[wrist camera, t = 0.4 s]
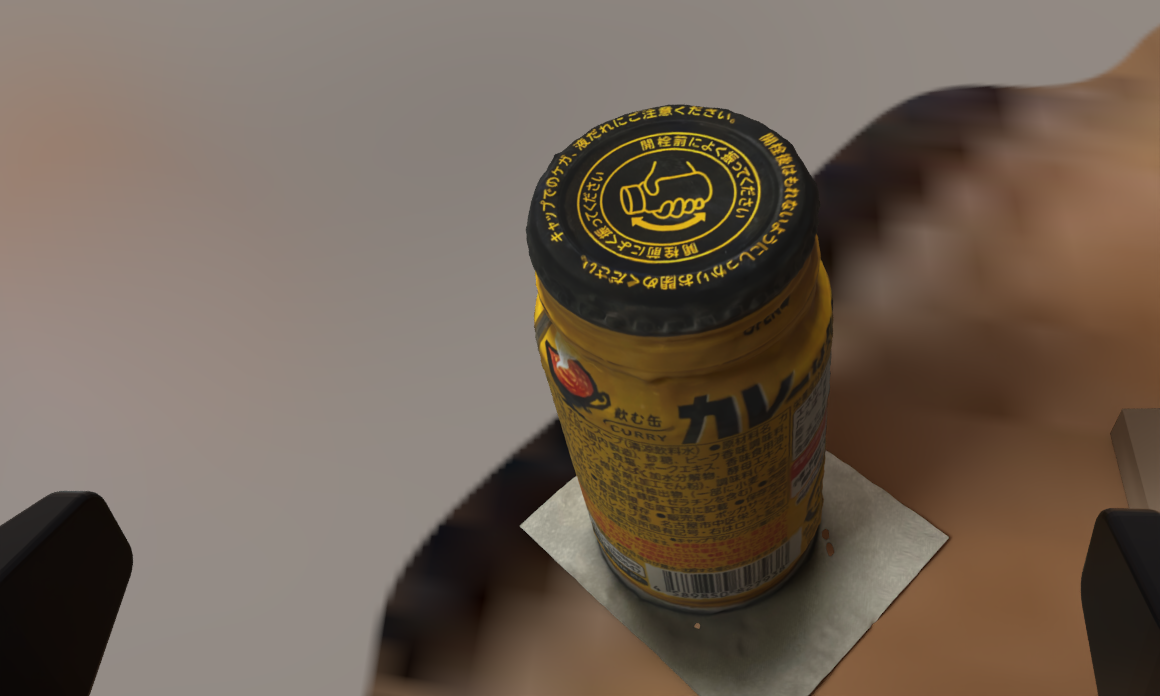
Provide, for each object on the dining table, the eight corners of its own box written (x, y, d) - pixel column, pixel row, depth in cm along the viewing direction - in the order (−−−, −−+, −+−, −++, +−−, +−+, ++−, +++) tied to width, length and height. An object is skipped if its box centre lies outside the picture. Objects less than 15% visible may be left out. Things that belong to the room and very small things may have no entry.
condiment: (701, 365, 30) (665, 24, 21) (948, 540, 26) (1045, 209, 16) (521, 530, 28) (386, 231, 18) (758, 754, 23) (741, 512, 14)
